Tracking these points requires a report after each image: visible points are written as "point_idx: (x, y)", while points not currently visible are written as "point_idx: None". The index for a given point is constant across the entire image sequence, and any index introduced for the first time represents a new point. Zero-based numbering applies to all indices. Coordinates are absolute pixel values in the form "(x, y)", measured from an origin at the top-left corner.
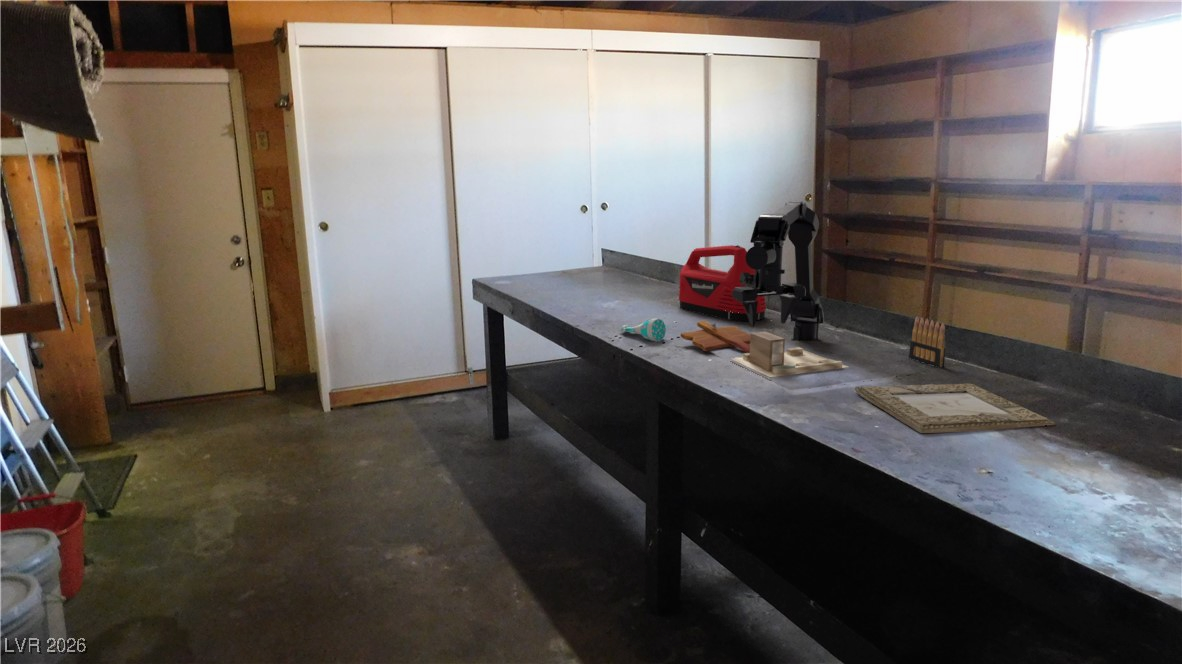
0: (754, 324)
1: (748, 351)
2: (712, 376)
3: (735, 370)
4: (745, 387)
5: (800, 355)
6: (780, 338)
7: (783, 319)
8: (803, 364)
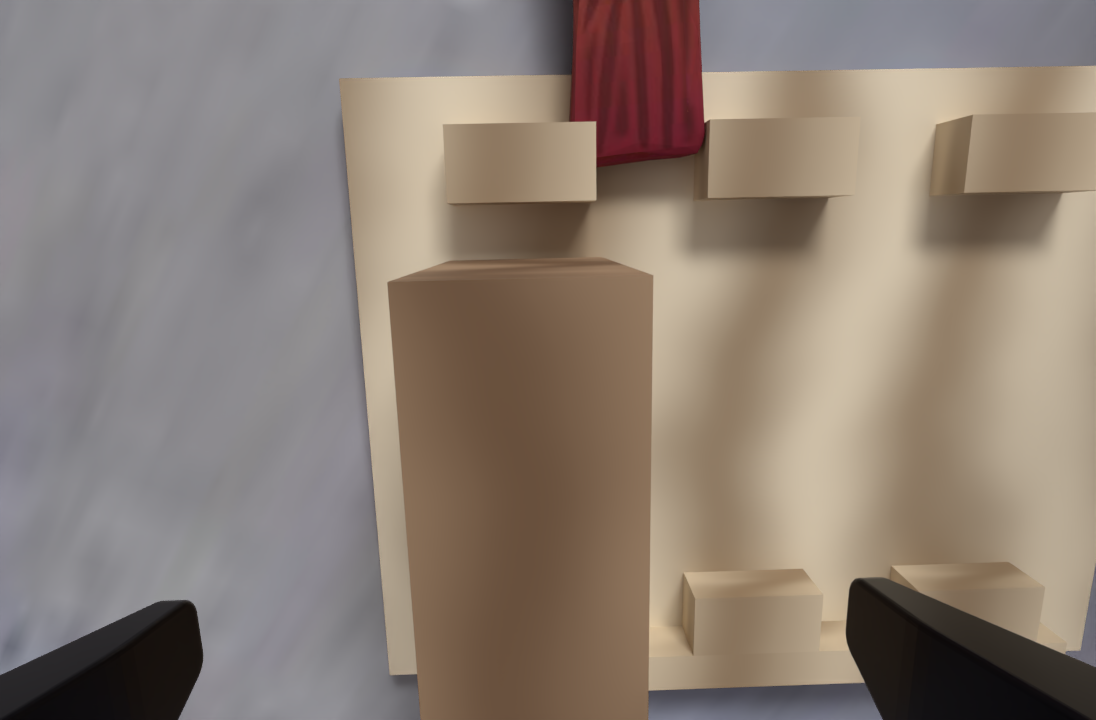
0: (180, 709)
1: (575, 8)
2: (33, 420)
3: (281, 337)
4: None
5: (1005, 229)
6: (605, 698)
7: (886, 703)
8: (734, 638)
